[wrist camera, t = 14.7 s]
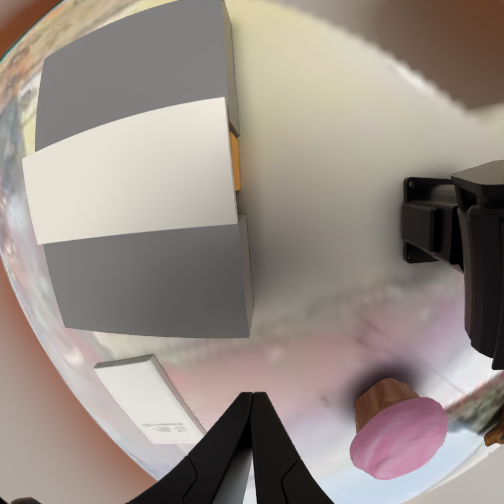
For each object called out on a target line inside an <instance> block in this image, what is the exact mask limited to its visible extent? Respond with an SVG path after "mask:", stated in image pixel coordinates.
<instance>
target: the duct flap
mask: <svg viewBox="0 0 504 504" xmlns="http://www.w3.org/2000/svg"><path fill="white" fill-rule="evenodd" d="M22 162H23V171H24V179H25V186H26V192H27V198H28V204H29V209H30V214H31V218H32V223H33V227H34V231H35V235H36V239H37V243H38V245H39V244H47V243H54V242H61V241H69V240H77V239H85V238H94V237H102V236H111V235H120V234H129V233H139V232H149V231H159V230H170V229H181V228H192V227H204V226H217V225H230V224H237V222H238V215H237V206H236V196H235V186H234V176H233V166H232V156H231V145H230V135H229V124H228V114H227V103H226V98H225V97H220V98H213V99H207V100H201V101H195V102H189V103H184V104H179V105H174V106H170V107H165V108H161V109H156V110H152V111H148V112H144V113H141V114H137V115H133V116H130V117H126V118H123V119H120V120H116V121H113V122H110V123H107V124H104V125H101V126H98V127H95V128H92V129H90V130H87V131H84V132H81V133H79V134H76V135H74V136H71V137H69V138H66V139H64V140H61V141H59V142H57V143H54V144H52V145H50V146H48V147H46V148H43V149H41V150H39V151H37V152H35V153H33V154H31V155H29V156H27V157H25V158H23V159H22Z"/></svg>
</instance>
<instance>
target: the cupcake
mask: <svg viewBox="0 0 504 504" xmlns="http://www.w3.org/2000/svg"><path fill="white" fill-rule="evenodd" d="M354 407H355V422H356V433H357V435H356V436H355V438H354V439H353V441H352V443H351V446H350V456H351V460H352V462H353V464H354V466H355V467H357V468H359V469H361V470H364V471H365V472H366V473H368V474H370V475H371V476H373V477H374V478H376V479H380V480H389V479H393V478H396V477H400V476H402V475H405V474H407V473H409V472H412V471H414V470H416V469H418V468H420V467H422V466H423V465H425V464H426V463H428V462H429V461H430V460H431V459H432V457H433V456H434V454H435V453H436V451H437V450H438V449H439V448H440V447H441V445H442V444H443V442H444V440H445V437H446V434H447V427H448V424H447V418H446V415H445V412H444V410H443V408H442V406H441V405H440V403H438V402H436V401H434V400H433V399H430V398H427V397H419V396H418V394H416V393H415V392H414V391H413V390H412V388H411V387H410V386H409V385H408V384H406V383H401V382H400V381H398V380H396V379H394V378H384V379H381V380H379V381H378V382H377V383H376V384H375V385H373V386H372V387H371V388H370V389H368V390H367V391H366V392H365V393H363V394H362V395H361V396H360V397H359V398H358V399H357V400H356V401H355V403H354Z"/></svg>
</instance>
